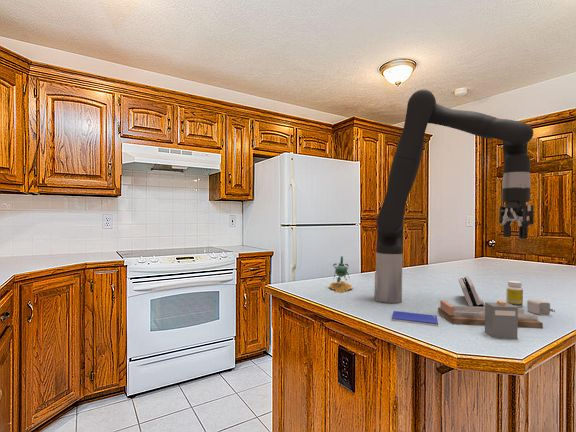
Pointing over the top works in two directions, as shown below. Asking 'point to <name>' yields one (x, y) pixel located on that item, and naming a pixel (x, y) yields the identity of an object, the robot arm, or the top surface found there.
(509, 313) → the block
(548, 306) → the usb wall charger
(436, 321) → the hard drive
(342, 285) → the frog figurine
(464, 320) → the rail board
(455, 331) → the top surface
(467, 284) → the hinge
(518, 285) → the supplement bottle
